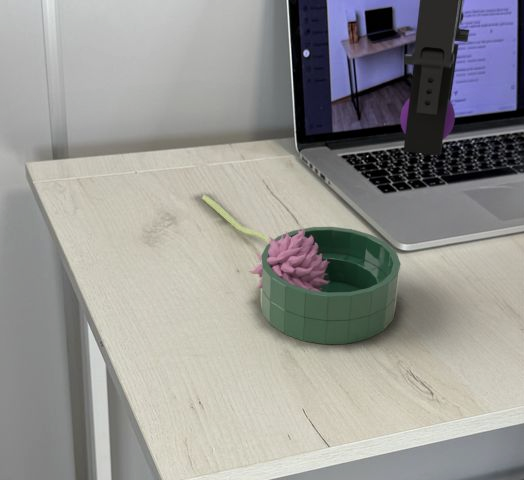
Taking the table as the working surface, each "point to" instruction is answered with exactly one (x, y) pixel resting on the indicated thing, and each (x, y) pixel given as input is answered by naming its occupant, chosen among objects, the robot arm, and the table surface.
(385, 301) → the bowl
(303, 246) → the artificial flower
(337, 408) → the table surface
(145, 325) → the table surface
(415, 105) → the robot arm
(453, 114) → the ball
